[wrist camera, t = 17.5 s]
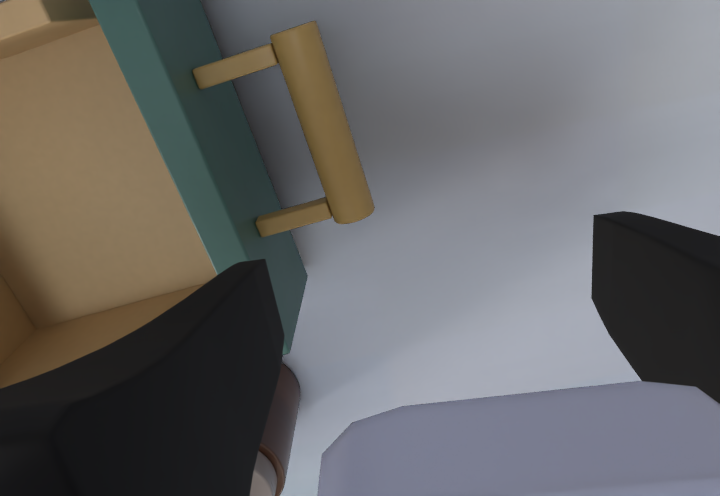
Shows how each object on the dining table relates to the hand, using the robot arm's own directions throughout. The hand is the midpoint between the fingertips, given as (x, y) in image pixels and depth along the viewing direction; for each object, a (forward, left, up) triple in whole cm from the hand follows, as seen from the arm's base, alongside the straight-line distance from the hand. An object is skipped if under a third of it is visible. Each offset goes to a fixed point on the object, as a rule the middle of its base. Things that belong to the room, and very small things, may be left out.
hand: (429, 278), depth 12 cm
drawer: (-3, -9, -10) cm, 14 cm away
